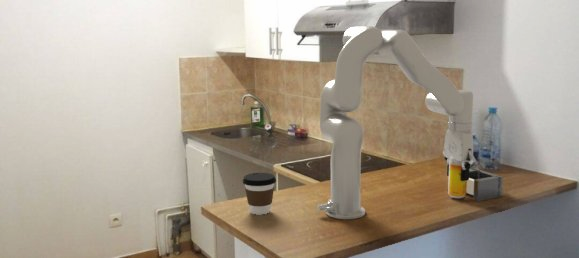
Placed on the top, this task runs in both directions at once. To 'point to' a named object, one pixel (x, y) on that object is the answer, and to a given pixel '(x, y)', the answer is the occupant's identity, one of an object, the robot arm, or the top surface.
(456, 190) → the beer can
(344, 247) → the top surface
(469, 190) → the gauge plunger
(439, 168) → the top surface
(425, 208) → the top surface
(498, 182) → the gauge frame
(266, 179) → the coffee cup
